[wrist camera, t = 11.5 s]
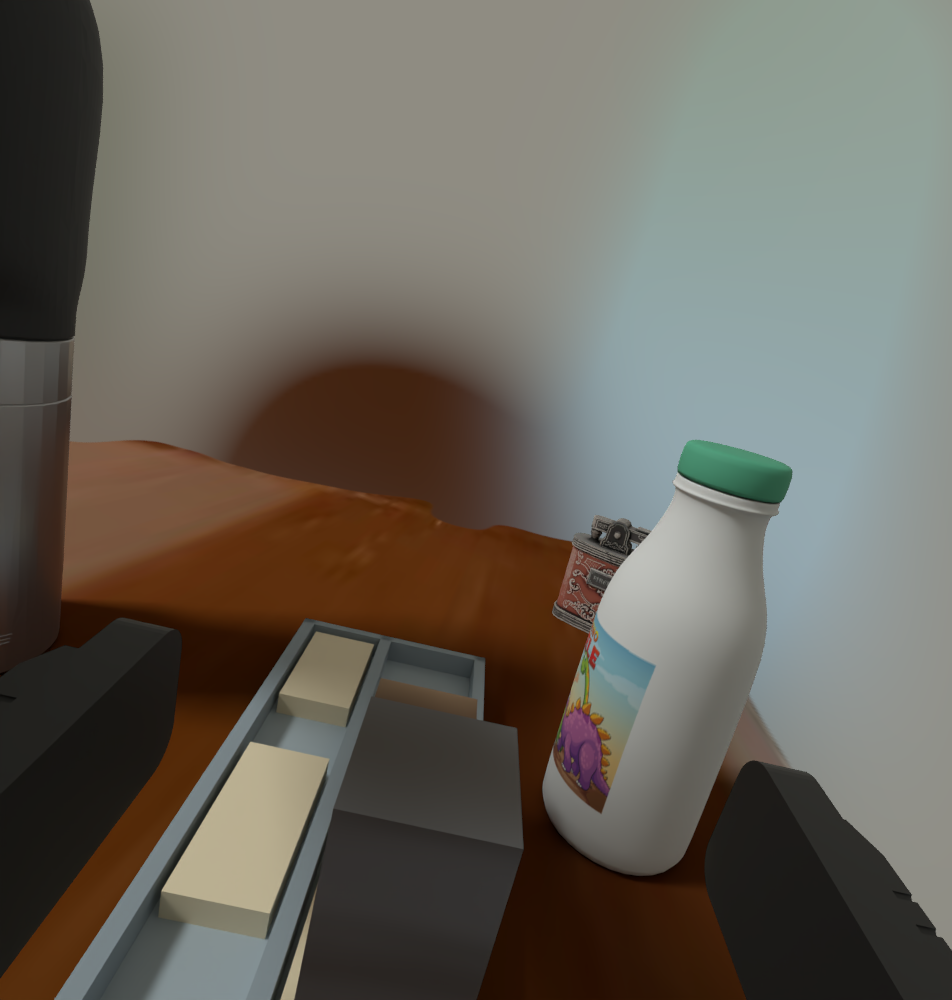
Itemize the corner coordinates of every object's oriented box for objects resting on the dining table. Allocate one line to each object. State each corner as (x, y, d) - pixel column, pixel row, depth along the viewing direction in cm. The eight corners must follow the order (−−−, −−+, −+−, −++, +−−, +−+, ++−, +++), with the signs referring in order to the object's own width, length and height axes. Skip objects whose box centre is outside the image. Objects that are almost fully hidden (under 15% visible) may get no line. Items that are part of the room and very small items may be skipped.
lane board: (433, 1608, 11) (456, 1556, 11) (-224, 1494, 11) (-233, 1434, 11) (478, 684, 41) (485, 658, 41) (301, 644, 41) (305, 618, 40)
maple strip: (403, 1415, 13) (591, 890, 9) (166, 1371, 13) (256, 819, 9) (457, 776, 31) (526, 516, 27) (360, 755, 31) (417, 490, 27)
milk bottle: (678, 794, 35) (806, 461, 30) (692, 908, 28) (865, 493, 23) (548, 748, 36) (649, 421, 31) (528, 845, 29) (656, 439, 24)
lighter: (546, 615, 54) (577, 509, 52) (559, 604, 57) (588, 503, 55) (634, 653, 51) (672, 542, 49) (643, 639, 54) (678, 534, 52)
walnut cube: (449, 858, 25) (474, 766, 24) (339, 835, 25) (359, 742, 24) (455, 780, 29) (477, 699, 28) (363, 759, 29) (380, 677, 28)
